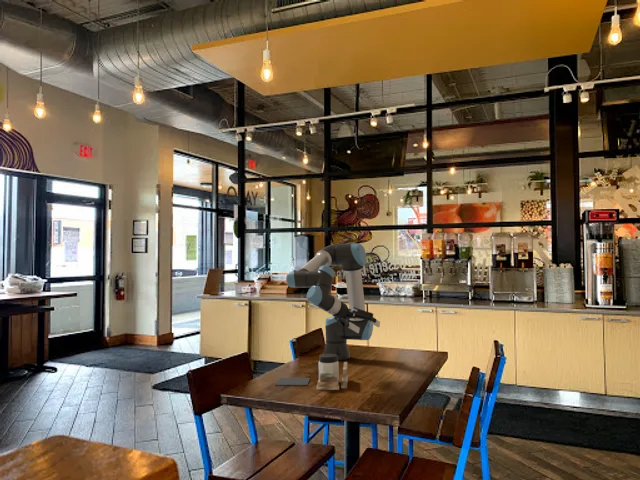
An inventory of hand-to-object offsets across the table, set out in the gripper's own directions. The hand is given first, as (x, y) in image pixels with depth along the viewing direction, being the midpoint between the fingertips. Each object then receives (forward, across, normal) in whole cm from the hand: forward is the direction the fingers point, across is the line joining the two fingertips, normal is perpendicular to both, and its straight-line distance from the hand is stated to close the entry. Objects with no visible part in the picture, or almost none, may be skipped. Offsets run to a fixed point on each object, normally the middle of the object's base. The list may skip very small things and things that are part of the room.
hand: (368, 327), depth 225 cm
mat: (-20, -22, -32) cm, 43 cm away
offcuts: (-15, -3, -34) cm, 37 cm away
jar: (-9, -11, -29) cm, 32 cm away
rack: (-9, -7, -30) cm, 33 cm away
